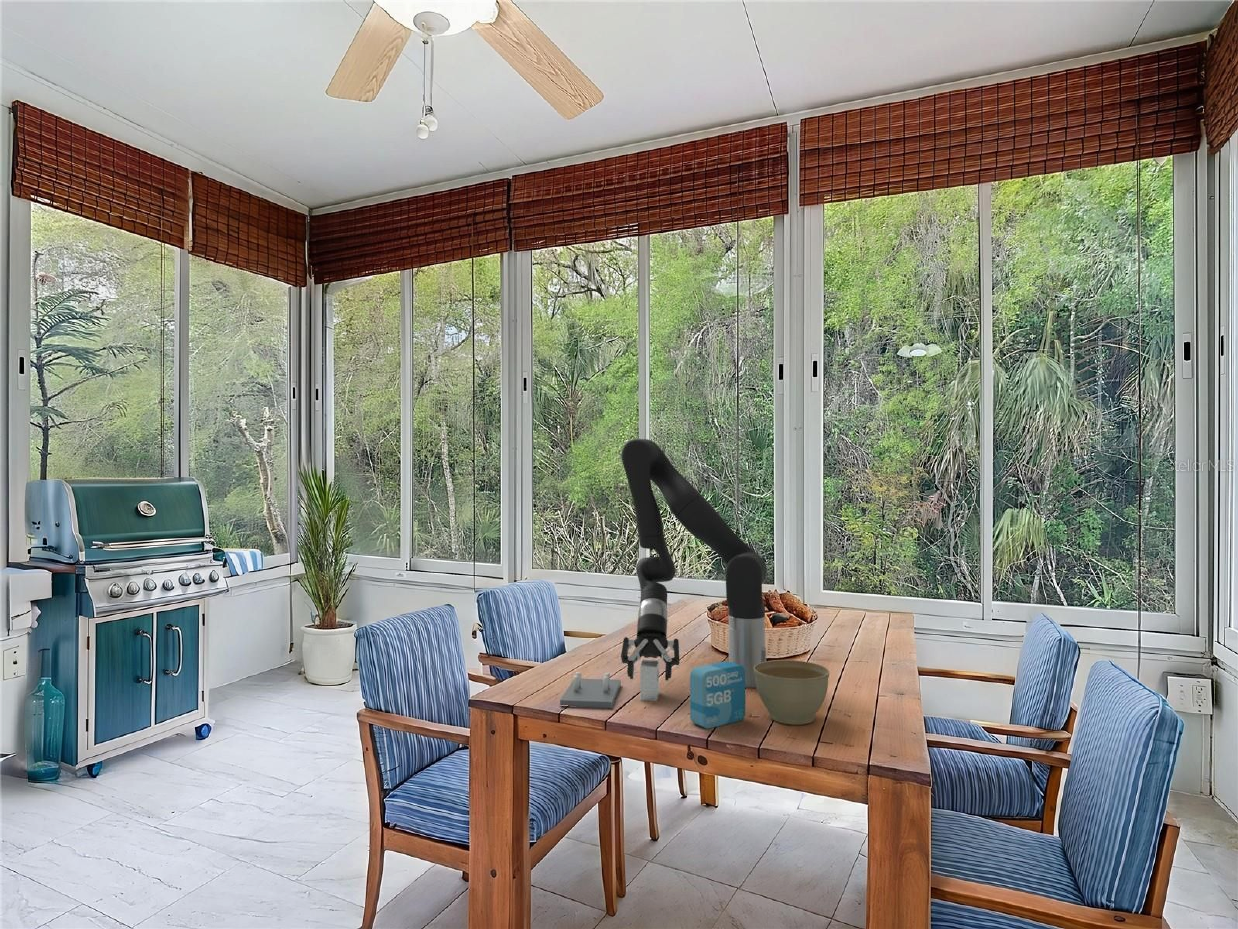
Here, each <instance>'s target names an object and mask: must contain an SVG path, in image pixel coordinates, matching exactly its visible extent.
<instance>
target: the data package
mask: <svg viewBox="0 0 1238 929" xmlns="http://www.w3.org/2000/svg"><path fill="white" fill-rule="evenodd" d="M689 673H690V674H689V715H690V716H689V718H690V720H691V723H693V724H695V725H697V726H700V727H702V728H703V729H704V728H705V729H707V730H709V729H712V728H716V727H721V726H725V725H728V724H732V723H737V722H741V721H742V720H744V718H745V716H746V687H745V669H744V667H743V666H741V665H738V664H735V663H732V662H729V660H727V661H720V662H716V663H710V664H704V665H699V666H695V667H693V668H692V669H691V670H690V672H689Z"/></svg>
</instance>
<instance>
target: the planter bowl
mask: <svg viewBox="0 0 1238 929" xmlns="http://www.w3.org/2000/svg"><path fill="white" fill-rule="evenodd" d="M754 673H755V681H756V687H755V688H756V690H757V692H758V693H757V694H758V696H759V699H760V700H761V703H762V704H763V706H764V707H765V708H766V710H767V711H768V715H769V717H770V719H771V720H772V721H775V722H777V723H779V724H780V723H781V724H784V725H793V726H796V725H807V724H810V723H812V722H814V721H815V717H816V714H817V713H818V712H819V711H820V709H821V707H822V706H823V703H825V702H824V701H825V698H826V697H827V696H826V695H827V693H828V688H829V678H830V670H829V668H827V667H826V666H824V665H821V664H819V663H814V662H810V661H803V660H795V659H794V660H792V659H790V660H789V659H781V660H780V659H779V660H778V659H776V660H769V661H767V660H766V662H762V663H759V664H757V665H755V666H754Z"/></svg>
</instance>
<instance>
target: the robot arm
mask: <svg viewBox="0 0 1238 929" xmlns="http://www.w3.org/2000/svg"><path fill="white" fill-rule="evenodd" d="M621 461H622V466H623V469H624V472H625V475H626V479H627V482H628V486H629V491H630V494H631V497H632V502H633V507H634V515H635V519H636V528H637V535H638V542H639V546H640V548H642V549H645V550H653V551H655V552H656V553H657V554H658V555H657V556H650V557H649V556H647V557H641V558H640V559H639V560H638V561H637V563H636V566H635V571H636V575H637V579H638V581H639V586H640V600H639V601H640V603H639V609H638V614H637V628H636V637H635V638H634V639H629V637H627V636H625V637H624V638H623V641H622V642H623V643H622V645H621V646H622V647H621V653H620V659H621V663H622V664H627V671H626V672H627V673H626V674H627V677H629V679H630V680H634V672H635V664H636V663H637V662H638V661H640V659H642V657H643V658H645V659H648V658H652V659H657V658H660V660H661V661H662V662H664V664H665V668H664V669H665V670H664V673H665V674H664V678H665V681H667V682H668V681H669V679H671V678H672V672H673V669H672V668H673V666H679V665H680V644H679V643H680V642H679V639H678V638H674V639H673V640H668V639H667V637H668V636H667V633H668V621H669V620H668V590H667V589H668V588H666V586H665V585H664V584H663V583H665V582H670V581H672V580H673V579H674V577H675V575H676V565H675V563H674V561H673V559H672V556H671V553H670V551H669V547H668V546H667V543H666V542H667V541H666V538H665V533H664V531H665V530H664V525H663V524H664V523H663V518H662V514H661V511H660V507H659V504H658V502H657V500H656V498H655V494H654V492H653V486H652V483H654V485H655V487H657V488H658V489H659V492H661V494H662V495H663V498H664V501H665V502H666V504H667V506H668V508H669V510H670V511H671V513H672V514H673V515H674V517H675V518H676V519H677V520H678V521H679V522H680V525H682V526H683V527H684V529H686V530H687V531H688V532H689V533H690V535H692V536H694V537H695V538H696V539H698V540H699V541H700V542H702V543H703V544H705V545H706V546H708V547H709V548H710V549H711V550H713V551H714V552H715V553H716V554H717V555H718V556H719V557H720V559H722V561H724V564H725V565H726V570H725V593H726V594H725V596H726V599H725V600H726V606H727V610H728V661H729V662H732V663H735V664H738V665H741V666H743V667H744V669H745V688H757V687H756V681H755V673H754V666H755V665H757V664H759V663H762V662H767V647H766V608H765V605H764V601H763V582H764V581H765V580H766V578H767V574H768V568H767V564H766V562H765V560H764V559H763V557H761V556H760V554H759V553H757V552H756V551H755V550H754V549H752V548H751V547H750V546H749V545H748V544H747V543H746V542H745V541H744V540H742V539H741V538H740V537H739V536H738V535H737V534H736V533H735V532H734V530H732V529H731V527H730V526H729V525H728V523H727V522H726V521H725V520H724V518H723V517H722V516H721V515H720V514H719V512H718V511H716V509H715V508H714V507H713V505H712V504H710V502H709V501H708V500H707V499H706V498H705V497H704V496H703V495H702V494H701V493H700V491H699V490H697V489H696V488H695V487H694V486H693V485H692V483H690V482H689V480H687V478H685V477H684V476H683V474H681V473H680V472H679V471H678V469H676V467H675V466H674V465H673V464H672V462H671V461H670V459H669V458H668V457H667V455H666V454H665V453H664V451H663V450H662V448H660V446H659V445H658V444H657V443H656V442H655V441H653V440H652V439H651V440H650V439H647V438H631V439H630V440H628V441H627V442H625V443H624V445H623V447H622V449H621ZM651 482H652V483H651ZM633 646H634V647H635V649H634V650H633V652H632V653H631V654H630V655H629V656H628V654H629V650H630V649H632V647H633ZM668 647H670V650H672V651H673V656H672V657H671V656H670V655H669V653H668V652H667V651H666V650H667V648H668Z"/></svg>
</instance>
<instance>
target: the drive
mask: <svg viewBox="0 0 1238 929" xmlns="http://www.w3.org/2000/svg"><path fill="white" fill-rule="evenodd" d="M659 662H660V661H659V660H658V659H657V660H656V659H655V660H653V659H643V660H642V661H641V663H640V672H639V673H640V676H639V677H640V680H639V681H640V682H639V683H640V685H639V686H640V688H639V689H640V691H639V692H640V694H639V695H640V696H639V697H640V701H647V700H651V701H653V700H654V701H655V702H658V700H657V699H659V694H660V670H659V669H660V663H659ZM654 701H653V702H654Z"/></svg>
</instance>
